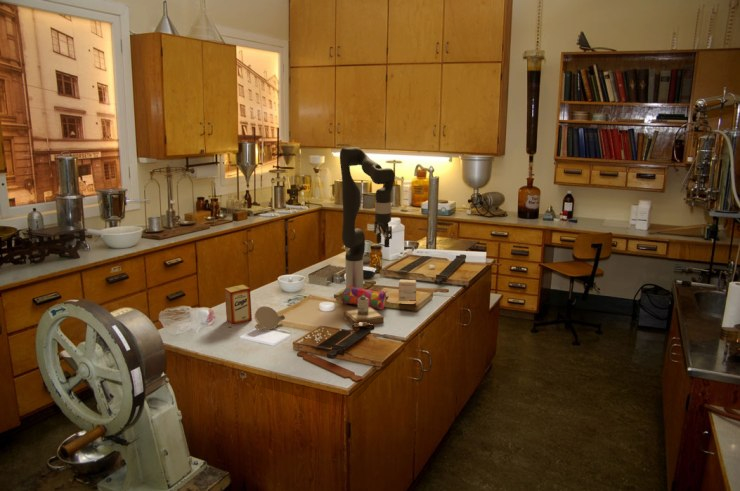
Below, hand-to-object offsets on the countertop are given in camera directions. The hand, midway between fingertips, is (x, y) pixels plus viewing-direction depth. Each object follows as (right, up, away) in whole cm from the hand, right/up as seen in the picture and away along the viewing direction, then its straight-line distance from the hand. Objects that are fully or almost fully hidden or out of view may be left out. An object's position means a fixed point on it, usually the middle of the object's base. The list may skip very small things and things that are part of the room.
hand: (382, 244), depth 267 cm
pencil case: (-8, -30, +12) cm, 33 cm away
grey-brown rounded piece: (-52, -37, -13) cm, 65 cm away
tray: (-9, -35, -7) cm, 37 cm away
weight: (-9, -32, -7) cm, 34 cm away
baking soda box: (-66, -35, -7) cm, 75 cm away
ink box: (+13, -29, +15) cm, 35 cm away
